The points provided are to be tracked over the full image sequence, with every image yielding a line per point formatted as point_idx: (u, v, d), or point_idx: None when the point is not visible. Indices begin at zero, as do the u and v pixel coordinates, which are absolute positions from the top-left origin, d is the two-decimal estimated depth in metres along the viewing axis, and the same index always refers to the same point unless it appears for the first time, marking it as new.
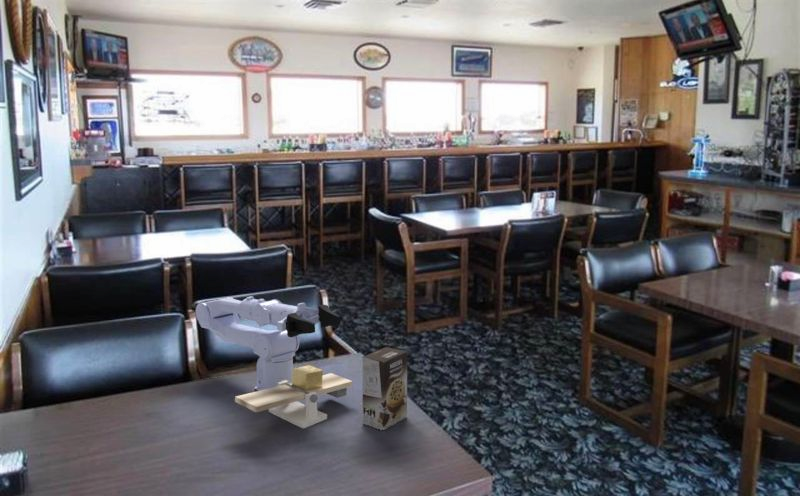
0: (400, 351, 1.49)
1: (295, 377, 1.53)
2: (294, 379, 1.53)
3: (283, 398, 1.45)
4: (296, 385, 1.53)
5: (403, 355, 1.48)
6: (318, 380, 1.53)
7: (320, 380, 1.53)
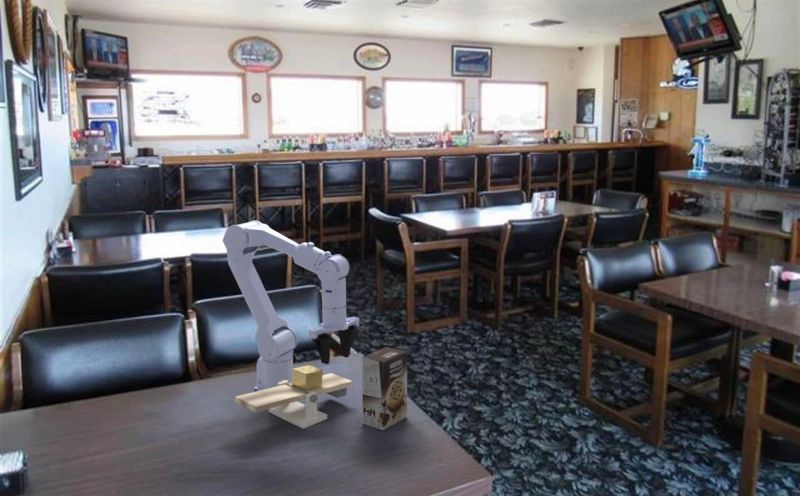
0: (400, 351, 1.49)
1: (295, 377, 1.53)
2: (294, 379, 1.53)
3: (283, 398, 1.45)
4: (296, 385, 1.53)
5: (403, 355, 1.48)
6: (318, 380, 1.53)
7: (320, 380, 1.53)
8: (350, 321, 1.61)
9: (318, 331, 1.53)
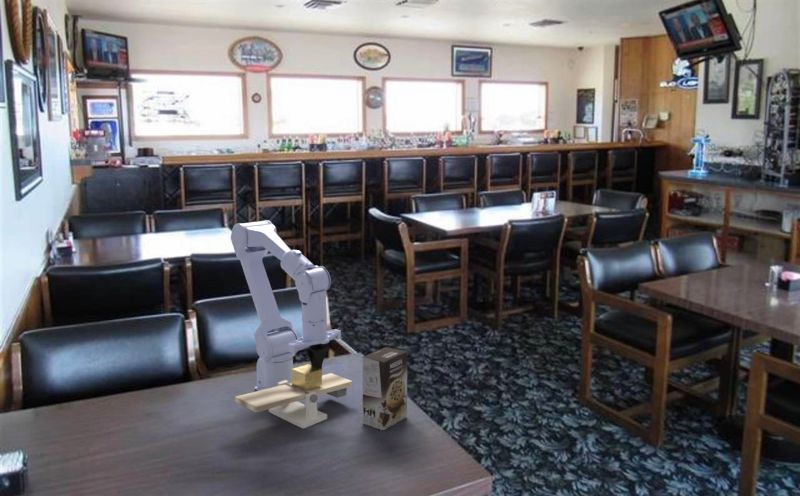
0: (400, 351, 1.49)
1: (295, 377, 1.53)
2: (294, 379, 1.53)
3: (283, 398, 1.45)
4: (296, 385, 1.52)
5: (403, 355, 1.48)
6: (317, 379, 1.53)
7: (320, 379, 1.53)
8: (331, 334, 1.57)
9: (298, 345, 1.49)
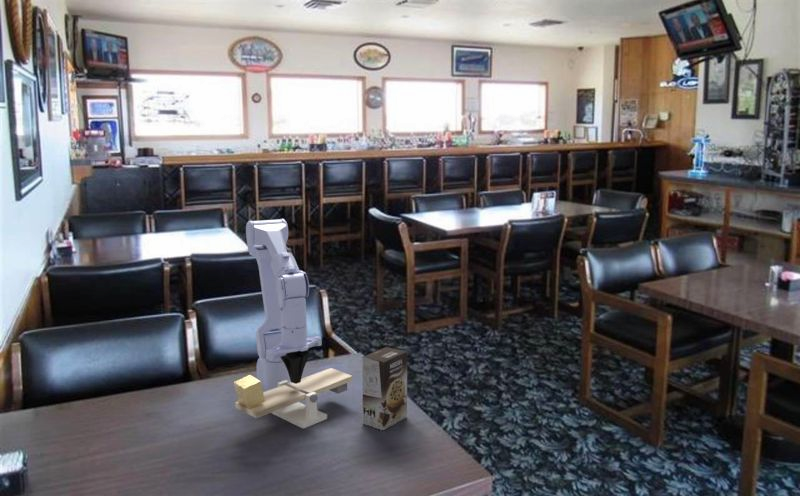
0: (400, 351, 1.49)
1: None
2: None
3: (283, 400, 1.45)
4: None
5: (403, 355, 1.48)
6: (254, 389, 1.41)
7: (254, 386, 1.41)
8: (311, 341, 1.52)
9: (276, 353, 1.44)
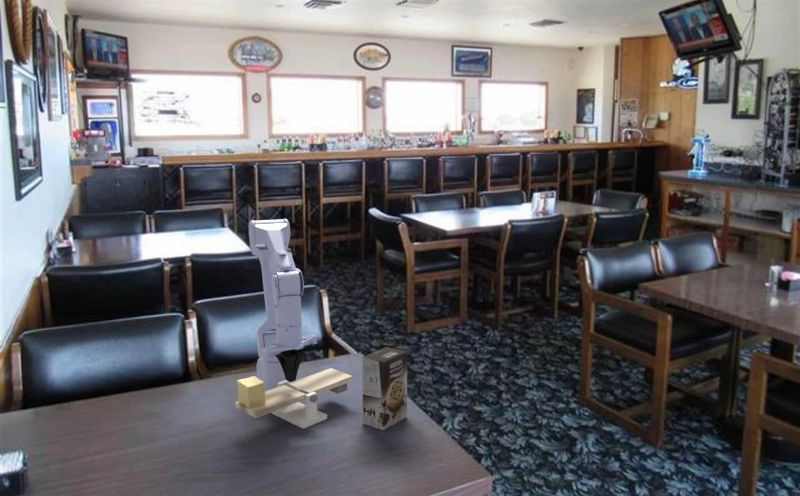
0: (400, 351, 1.49)
1: None
2: None
3: (283, 400, 1.45)
4: None
5: (403, 355, 1.48)
6: (257, 390, 1.42)
7: (257, 386, 1.41)
8: (307, 339, 1.51)
9: (270, 351, 1.43)
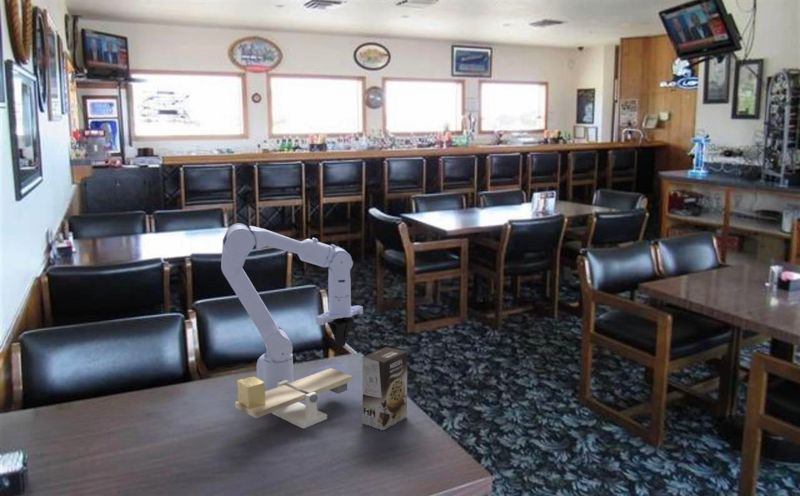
0: (400, 351, 1.49)
1: None
2: None
3: (283, 400, 1.45)
4: None
5: (403, 355, 1.48)
6: (257, 390, 1.42)
7: (257, 386, 1.41)
8: (354, 309, 1.71)
9: (325, 318, 1.63)
